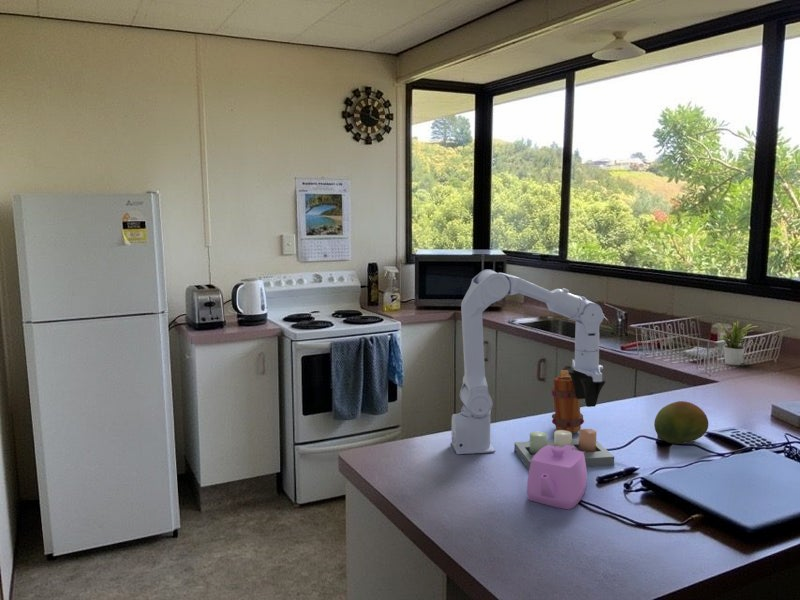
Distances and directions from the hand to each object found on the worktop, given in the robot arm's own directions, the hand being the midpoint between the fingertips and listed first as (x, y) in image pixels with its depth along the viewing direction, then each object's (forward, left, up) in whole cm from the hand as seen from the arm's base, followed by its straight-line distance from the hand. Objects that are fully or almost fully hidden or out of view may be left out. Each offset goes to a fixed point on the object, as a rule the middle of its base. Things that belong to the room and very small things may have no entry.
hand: (585, 402), depth 160 cm
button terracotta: (-3, -9, -9) cm, 13 cm away
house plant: (+84, +65, -11) cm, 107 cm away
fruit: (+23, -4, -11) cm, 26 cm away
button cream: (-9, -9, -9) cm, 15 cm away
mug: (-1, +9, -10) cm, 14 cm away
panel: (-9, -9, -10) cm, 16 cm away
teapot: (-17, -28, -11) cm, 35 cm away
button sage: (-15, -9, -9) cm, 20 cm away
